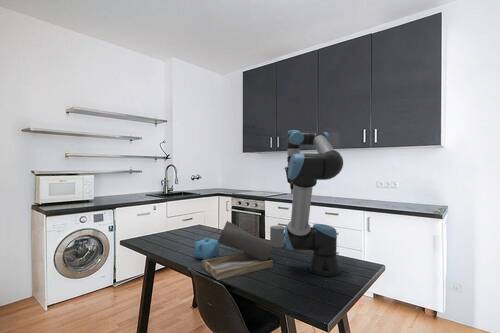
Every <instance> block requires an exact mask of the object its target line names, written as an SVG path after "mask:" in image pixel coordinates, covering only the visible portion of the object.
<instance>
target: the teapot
mask: <svg viewBox="0 0 500 333" xmlns="http://www.w3.org/2000/svg"><path fill="white" fill-rule="evenodd" d="M218 240H219V239H218ZM218 240H217V239H214V238H210V237H205V238H204V239H201V240H197V241H195V242H194V257H197V258H198V259H199V260H200V259H201V260H202V259H203V260H207V259H212V258H217V257H216V256H219V255H220V243H218Z"/></svg>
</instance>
